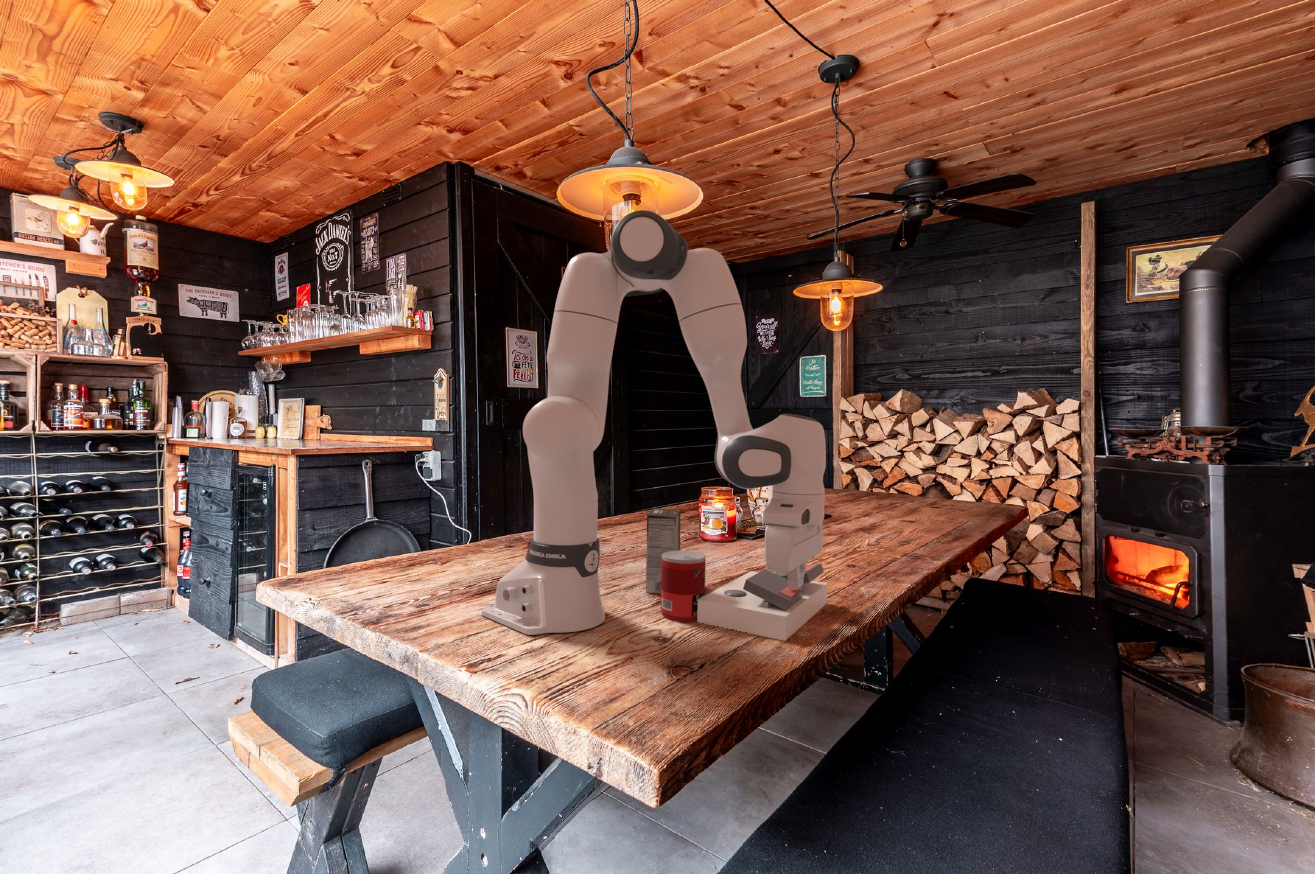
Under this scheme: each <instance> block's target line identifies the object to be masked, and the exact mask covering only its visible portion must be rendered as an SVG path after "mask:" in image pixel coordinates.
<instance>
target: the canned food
mask: <svg viewBox="0 0 1315 874" xmlns="http://www.w3.org/2000/svg"><path fill="white" fill-rule="evenodd" d="M706 561H707V560H706V555H705V554H703V553H702V552H699V551H692V550H680V551H669V552H665V553H663V554H662V569H661V594H660V596H661V597H660V612H661V614H662V616H663V617H664V618H665V619H667V618H668V620H669V621H674V620H676V621H675V622H694V621H697V612H698V599H700V598H702V597H704V596H705V595H706V567H707V566H706Z"/></svg>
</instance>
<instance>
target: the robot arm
mask: <svg viewBox="0 0 1315 874" xmlns="http://www.w3.org/2000/svg"><path fill="white" fill-rule="evenodd" d="M609 243H610V245H609V246H610V249H609V250H608V251H606V252H603V253H598V252H597V253H596V252H584V253H579V254H576V255H575V256H573V257H572V258H571V259H570V261H569V262H568V264H567V266H566V268H565V271H564V273H563V276H562V280H561V282H560V286H559V289H558V293H557V295H556V296H557V297H556V300H555V307H554V311H553V317H552V322H551V323H552V324H551V329H550V335H549V339H548V340H549V341H548V345H547V346H548V347H547V352H546V363H547V398H544V399H542V400H540V401H539V402H538V403H536V404H535V405H534V406H532V408H531V409H530V410H529V411H528V412H527V414H526V415H525V417H524V419H523V424H522V435H523V440H524V443H525V445H526V449H527V457H528V465H529V472H530V476H531V477H530V478H531V483H532V489H533V490H532V491H533V537H532V539H531V540H530V541H526V542H525V541H524V542H522V543H521V545H522V547H521V548H520V549H521V550H526V549H527V551H526V554H525V557H524V558H525V559H524V560H523V561H522V562H520V563H519V564H517V565H516V566H515V567H514V568H513V569H511V570H510V571H509V572H507V573H506V574H505V575H504V576H502V577H501V578H500V580H498V583H497V586H496V591H495V600H494V601H492V602H490V603H487V605H485V606H484V607H483V608H482V609H481V616H483V617H485V618H487V619H490V620H493V621H495V622H497V623H499V624H502V625H504V626H506V627H508V628H510V629H513V630H515V631H518V632H520V633H522V634H524V635H528V636H531V635H532V636H535V635H542V634H550V633H551V634H553V633H555V634H556V633H572V632H573V633H574V632H579V631H580V632H581V631H586V630H589V629H592V628H595V627H598V626H599V625H601V624H602V623H603V622H605V620H606V613H605V610H604V606H603V603H602V597H601V589H600V582H599V571H598V570H599V565H600V559H601V558H600V557H601V555H600V554H601V553H600V552H601V551H600V549H601V548H600V538H598V517H599V516H598V514H599V513H598V512H599V511H598V509H599V508H598V507H599V506H598V505H599V501H598V500H599V499H598V497H599V493H598V489H597V485H596V476H595V463H594V451H596V449H597V448H598V447H599V445H600V444H601V442H602V440H603V436H604V433H605V425H606V416H607V408H608V397H609V396H608V395H609V385H610V382H609V381H610V371H611V365H612V358H613V351H614V346H615V342H616V341H615V340H616V336H617V328H618V325H619V324H618V323H619V319H620V318H619V317H620V311H621V307H622V302H623V300H624V298H625V297H633V296H634V297H635V296H636V297H637V296H643V295H652V294H656V293H658V292H661V291H663V290H665V291H666V292H667V293H668V295H669V296H670V297H671V299H672V301H673V304H674V307H675V310H676V311H675V312H676V315H677V319H678V323H679V327H680V330H681V333H682V336H683V340H684V342H685V344H686V347H687V350H688V352H689V354H690V355H691V358H692V360H693V362H694V364H695V366H696V368H697V370H698V372H699V373H700V377H701V378H702V380H703V382H704V385H705V388H706V390H707V394H708V398H709V401H710V402H709V403H710V406H711V411H712V413H713V418H714V422H715V427H716V433H717V434H716V435H717V437H716V443H715V450H714V464H715V468H716V470H717V472H718V474H719V475H720V476H721V477H722V478H723V479H724V480H725V481H727V482H728V483H731V484H733V485H734V486H736V487H738V488H740V489H744V490H754V489H755V490H756V489H760V488H764V487H771V486H772V490H771V491H772V493H771V494H772V496H771V497H772V498H770V501H769V504H767V506H766V507H765V508H764V510H763V513H762V522H763V524H764V523H765V524H767V525H766V526H765V530H764V558H765V559H764V561H765V566H766V569H767V570H768V571H771V572H773V573H775V572H779V573H786V574H787V577H788V588H789V589H792V590H797V589H799V588H800V587H801V586H803V577H804V574H805V570H806V566H807V565H808V564H807V563H808V561H809V560H811V559H813V558H814V557H815V556H817V555H819V554H821V552H822V550H823V546H824V529H823V527H824V523H823V522H824V519H825V502H826V501H825V499H826V498H825V496H826V489H825V485H824V474H825V470H826V467H827V464H826V463H827V461H826V459H827V456H826V455H827V451H826V450H827V448H826V436H825V429H824V427H823V425H822V423H820V421H818V420H817V419H815V418H812V417H809V416H804V415H799V414H792V413H783V414H782V413H781V414H780V415H779V416H778V417H777V418H775V419H773V420H772V421H770V422H768V423H765V424H763V425H762V426H760V427H757V428H753V426H752V424H751V422H750V421H751V420H750V416H749V413H748V409H747V404H746V399H745V395H744V392H743V387H742V378H741V377H742V376H741V375H742V365H743V361H744V357H745V353H746V351H747V346H748V337H747V325H746V317H745V313H744V309H743V305H742V301H741V297H740V294H739V291H738V288H737V285H736V283H735V280H734V276H733V275H732V272H731V270H730V267H729V265H728V264H727V262H726V260H725V258H724V255H722V253H720V252H719V251H717V250H715V249H713V248H709V247H708V248H707V247H697V248H695V249H688V248H689V247H688V243H687V241H686V240H685V238H684V237H683V236H681V234H679V233H678V232H677V230H675V228H673V226H672V225H671V223H669V222H668V221H667V220H666V219H664V218H663V217H662V216H661V215H659V214H657V213H655V212H653V211H650V210H646V209H645V210H635V211H632V212H630V213H629V212H628V213H627V214H626V215H625V216H623V217H622V218H620V220H619V221H618V222H617V223H616V225H615V226H614V228H613V231H612V234H611V238H610V242H609ZM523 545H524V546H523Z"/></svg>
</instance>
